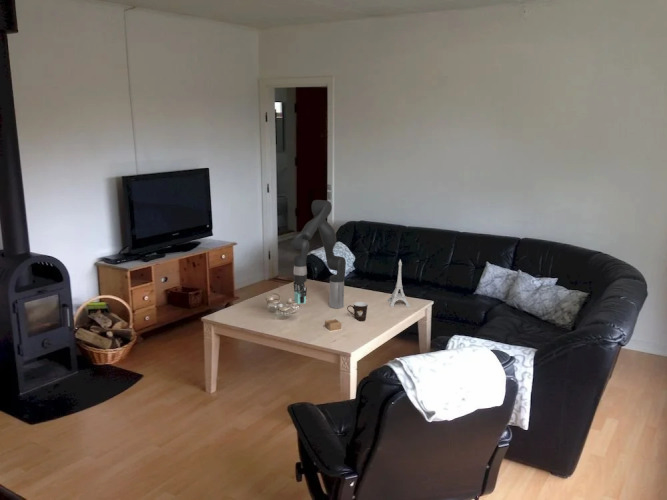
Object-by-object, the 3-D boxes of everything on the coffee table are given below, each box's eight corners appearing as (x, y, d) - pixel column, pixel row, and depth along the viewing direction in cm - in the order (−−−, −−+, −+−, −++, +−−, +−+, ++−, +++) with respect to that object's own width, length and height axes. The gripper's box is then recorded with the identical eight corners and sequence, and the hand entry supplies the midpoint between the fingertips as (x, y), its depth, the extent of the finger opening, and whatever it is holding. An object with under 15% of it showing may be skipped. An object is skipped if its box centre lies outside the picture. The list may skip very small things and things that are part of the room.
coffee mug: (369, 319, 365) (370, 303, 363) (363, 323, 358) (363, 307, 356) (353, 315, 371) (353, 300, 369) (346, 319, 364) (346, 303, 362)
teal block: (294, 301, 349) (294, 291, 348) (302, 300, 352) (302, 290, 350) (297, 304, 345) (297, 294, 344) (305, 303, 347) (305, 293, 346)
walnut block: (324, 327, 346) (324, 320, 345) (335, 325, 349) (335, 319, 348) (330, 331, 340) (330, 324, 339) (341, 329, 343) (341, 322, 342)
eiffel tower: (386, 300, 403) (388, 257, 396) (406, 300, 404) (408, 257, 397) (390, 307, 390) (391, 262, 383) (410, 306, 391) (412, 262, 384)
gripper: (289, 270, 349) (289, 298, 353) (299, 276, 336) (299, 305, 340) (300, 269, 352) (300, 297, 356) (311, 275, 340) (311, 304, 344)
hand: (300, 301), depth 348 cm, fingers closed on teal block, 5 cm apart
